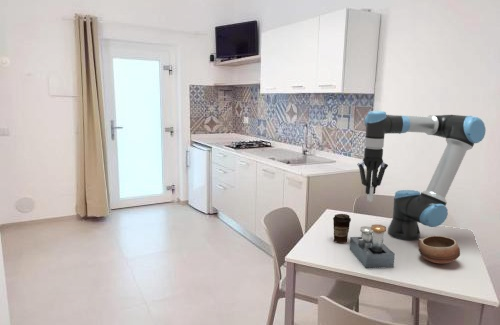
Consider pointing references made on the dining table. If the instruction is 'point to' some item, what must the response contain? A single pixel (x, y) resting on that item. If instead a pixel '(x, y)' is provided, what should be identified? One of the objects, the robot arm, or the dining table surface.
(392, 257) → the mount
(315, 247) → the dining table surface
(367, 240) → the white light bulb
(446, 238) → the bowl
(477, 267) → the dining table surface
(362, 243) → the knob
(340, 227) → the coffee cup
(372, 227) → the orange light bulb
